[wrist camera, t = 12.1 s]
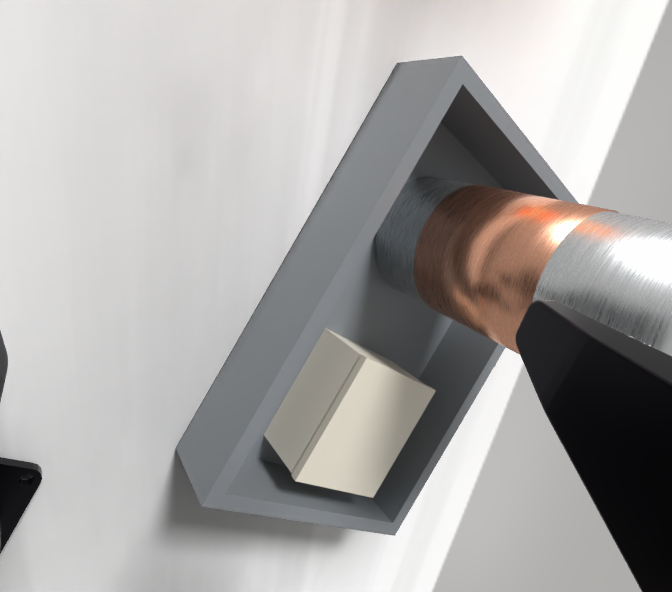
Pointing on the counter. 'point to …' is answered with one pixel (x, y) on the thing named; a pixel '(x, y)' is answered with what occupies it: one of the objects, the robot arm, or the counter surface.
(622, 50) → the counter surface
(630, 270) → the steel tin
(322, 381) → the cream smooth square block
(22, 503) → the robot arm
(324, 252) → the grey rectangular tray
